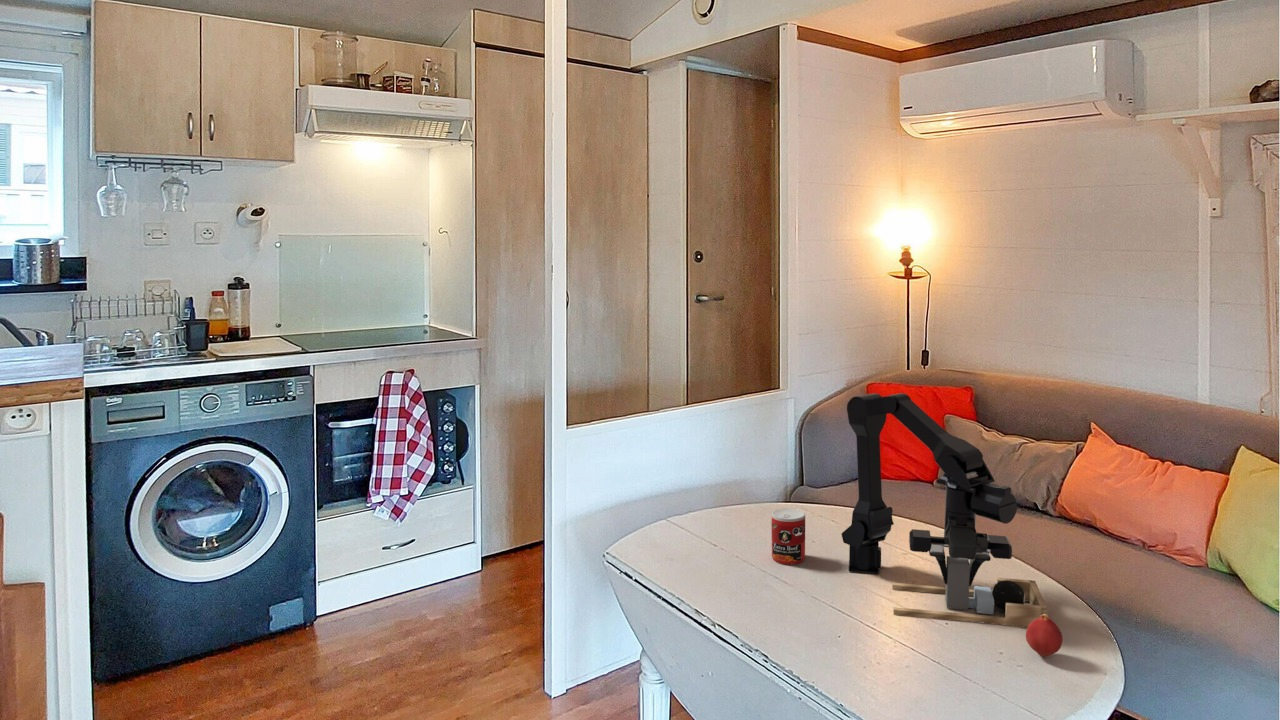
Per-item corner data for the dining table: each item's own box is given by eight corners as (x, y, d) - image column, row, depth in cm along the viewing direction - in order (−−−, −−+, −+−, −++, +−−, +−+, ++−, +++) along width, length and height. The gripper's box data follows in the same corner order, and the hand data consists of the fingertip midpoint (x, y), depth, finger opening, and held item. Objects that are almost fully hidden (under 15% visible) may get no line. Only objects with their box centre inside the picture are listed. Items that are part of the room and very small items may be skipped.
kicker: (947, 610, 164) (948, 565, 163) (944, 597, 170) (946, 554, 169) (993, 614, 162) (995, 569, 161) (989, 601, 168) (991, 557, 166)
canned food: (768, 563, 191) (768, 517, 190) (775, 550, 198) (775, 506, 197) (801, 567, 188) (801, 520, 187) (808, 554, 196) (808, 509, 194)
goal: (1005, 625, 158) (1006, 605, 157) (996, 596, 171) (996, 577, 170) (1047, 629, 156) (1048, 609, 156) (1034, 599, 169) (1035, 580, 168)
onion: (1028, 645, 150) (1030, 603, 149) (1063, 653, 147) (1066, 611, 146) (1022, 659, 145) (1024, 616, 144) (1058, 668, 142) (1061, 624, 141)
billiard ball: (1022, 619, 160) (1024, 590, 159) (989, 613, 163) (990, 584, 162) (1025, 607, 165) (1027, 579, 164) (993, 601, 168) (994, 573, 167)
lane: (893, 614, 164) (893, 609, 163) (892, 587, 176) (892, 582, 176) (1005, 625, 158) (1006, 620, 158) (996, 596, 171) (996, 591, 171)
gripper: (912, 519, 159) (910, 596, 161) (1018, 526, 154) (1014, 606, 156) (910, 501, 169) (907, 574, 171) (1009, 508, 164) (1005, 583, 166)
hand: (957, 584), depth 166 cm, fingers open, 4 cm apart
